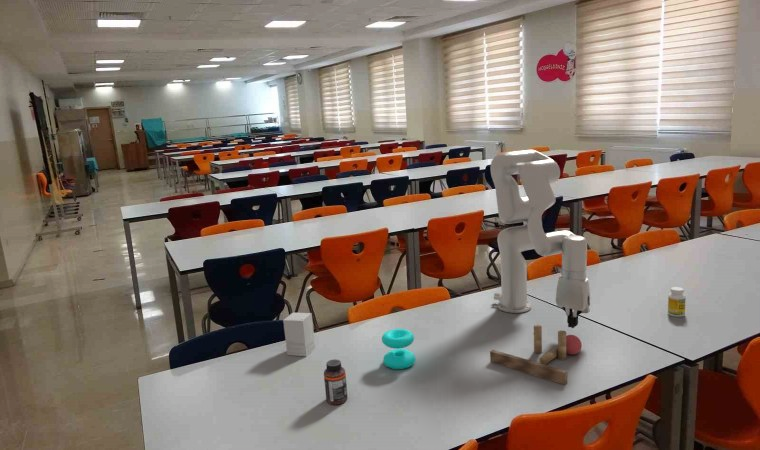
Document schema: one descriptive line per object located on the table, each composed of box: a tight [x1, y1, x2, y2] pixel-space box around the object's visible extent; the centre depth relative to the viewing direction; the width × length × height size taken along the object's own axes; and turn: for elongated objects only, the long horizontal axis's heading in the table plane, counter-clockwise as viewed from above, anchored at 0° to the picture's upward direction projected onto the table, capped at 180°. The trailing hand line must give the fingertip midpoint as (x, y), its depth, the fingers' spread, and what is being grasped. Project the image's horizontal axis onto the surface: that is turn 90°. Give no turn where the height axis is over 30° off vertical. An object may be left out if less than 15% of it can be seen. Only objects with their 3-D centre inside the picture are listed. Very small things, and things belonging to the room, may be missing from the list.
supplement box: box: [282, 312, 316, 357], centre depth 183 cm, size 7×7×13 cm
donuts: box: [381, 328, 416, 370], centre depth 170 cm, size 10×10×10 cm
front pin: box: [539, 346, 558, 365], centre depth 166 cm, size 2×2×8 cm
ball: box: [566, 334, 583, 356], centre depth 169 cm, size 6×6×6 cm
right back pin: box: [557, 330, 567, 361], centre depth 166 cm, size 2×2×8 cm
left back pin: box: [533, 324, 543, 354], centre depth 172 cm, size 2×2×8 cm
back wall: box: [489, 349, 568, 385], centre depth 160 cm, size 24×2×4 cm, turn 46°
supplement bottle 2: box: [667, 286, 686, 318], centre depth 193 cm, size 5×5×10 cm
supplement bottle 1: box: [323, 358, 348, 406], centre depth 150 cm, size 6×6×11 cm
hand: (572, 326), depth 181 cm, fingers closed
